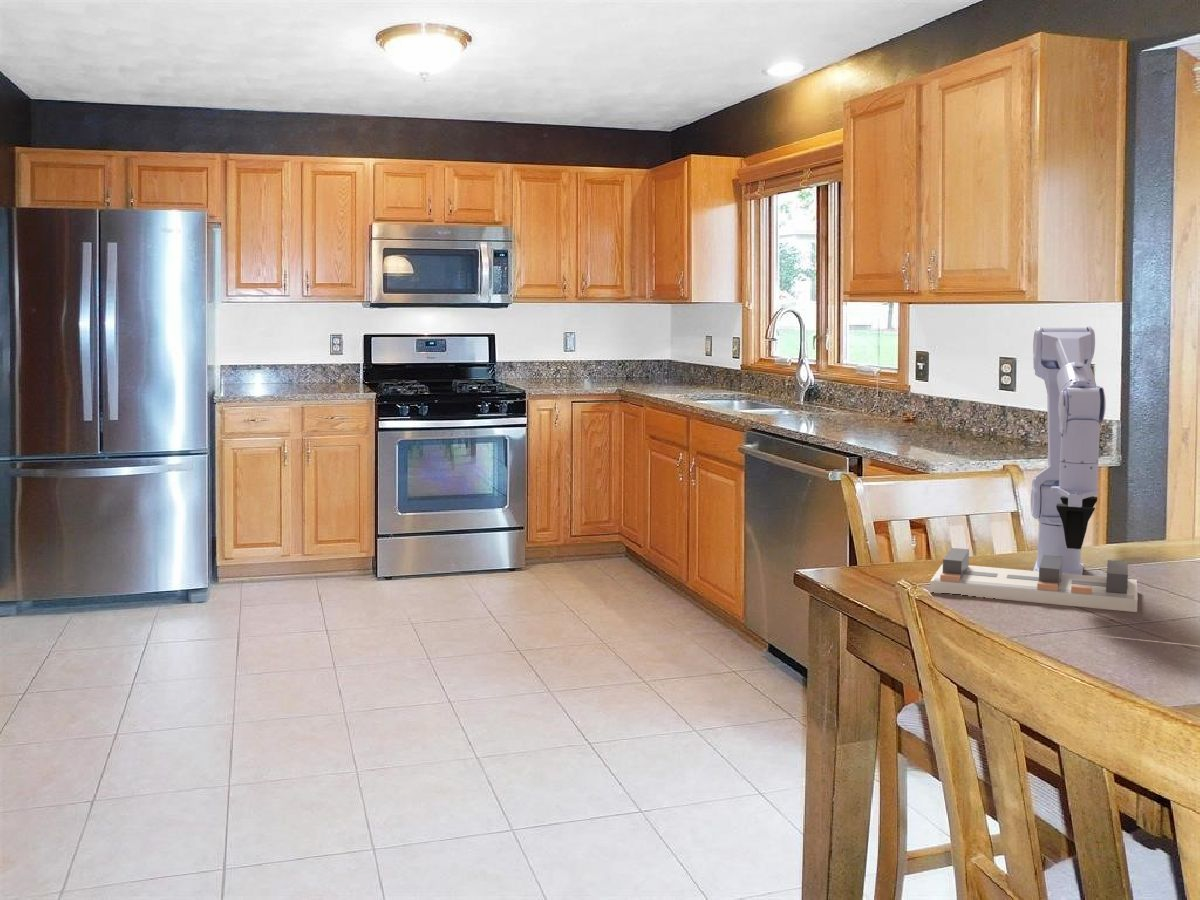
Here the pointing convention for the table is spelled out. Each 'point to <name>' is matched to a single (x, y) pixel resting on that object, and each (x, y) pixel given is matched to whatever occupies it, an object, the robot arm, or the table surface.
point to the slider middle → (1050, 569)
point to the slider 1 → (956, 561)
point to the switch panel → (1035, 588)
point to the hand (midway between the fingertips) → (1075, 543)
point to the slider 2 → (1117, 576)
